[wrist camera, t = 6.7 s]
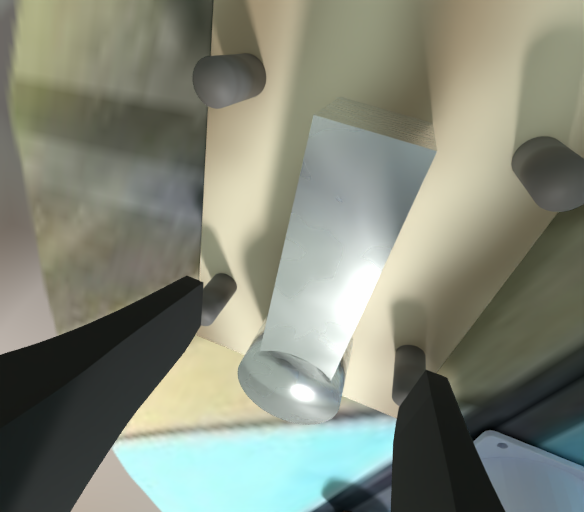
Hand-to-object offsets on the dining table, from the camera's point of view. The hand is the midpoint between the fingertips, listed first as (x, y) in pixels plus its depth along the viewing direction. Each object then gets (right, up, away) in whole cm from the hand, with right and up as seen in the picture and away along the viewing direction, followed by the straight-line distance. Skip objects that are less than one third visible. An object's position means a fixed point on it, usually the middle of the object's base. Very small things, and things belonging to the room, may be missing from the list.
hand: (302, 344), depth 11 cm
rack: (+2, +4, +5) cm, 7 cm away
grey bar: (+1, +2, +5) cm, 5 cm away
